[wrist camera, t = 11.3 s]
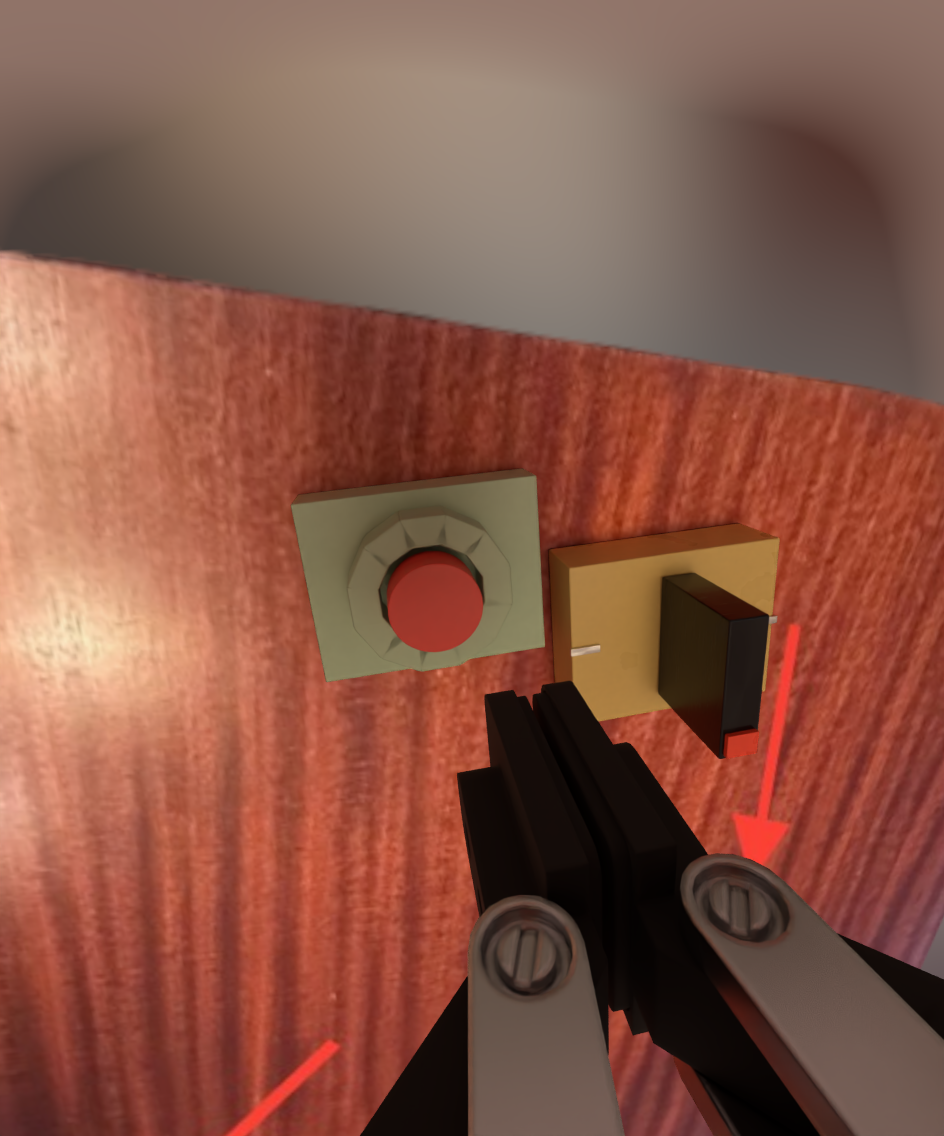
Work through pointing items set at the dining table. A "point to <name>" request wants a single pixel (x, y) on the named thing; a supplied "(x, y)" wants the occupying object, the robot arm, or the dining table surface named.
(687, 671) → the block
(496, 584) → the button block
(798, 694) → the dining table surface
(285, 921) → the dining table surface
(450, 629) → the release button
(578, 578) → the plate
